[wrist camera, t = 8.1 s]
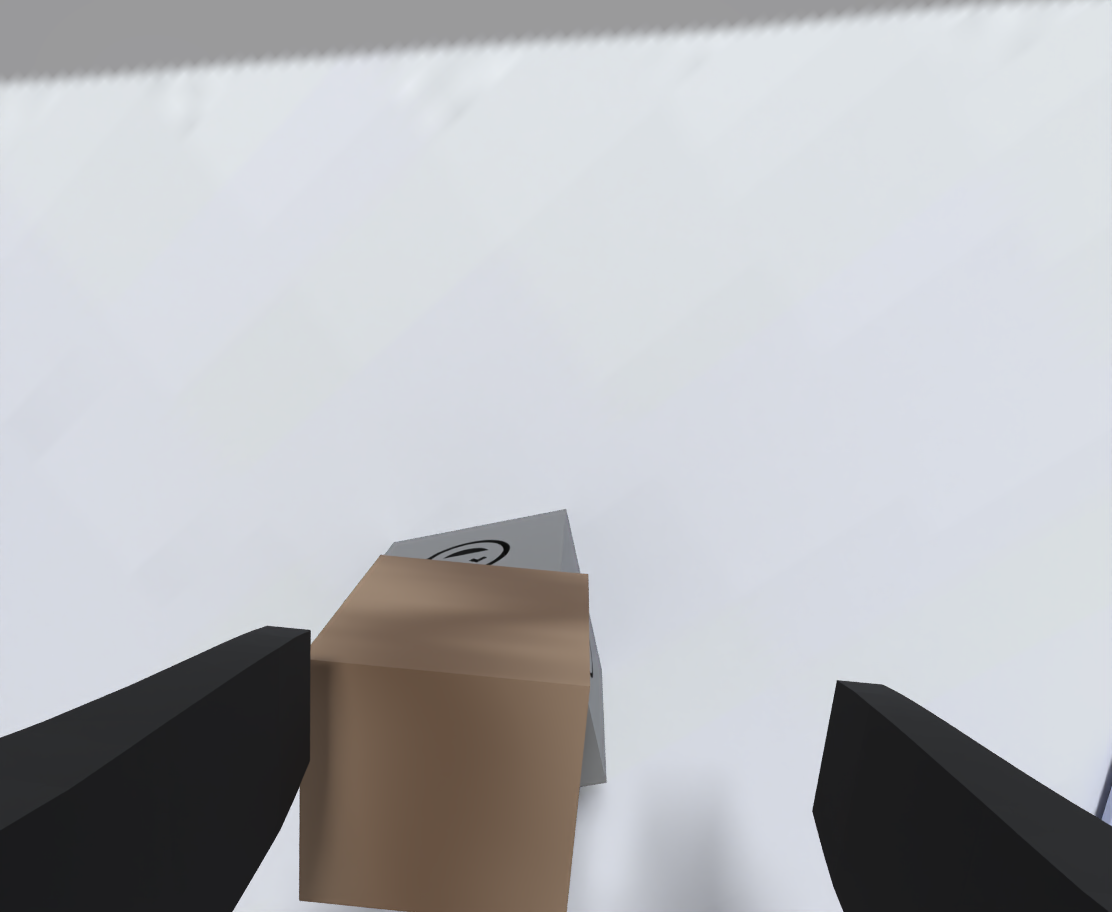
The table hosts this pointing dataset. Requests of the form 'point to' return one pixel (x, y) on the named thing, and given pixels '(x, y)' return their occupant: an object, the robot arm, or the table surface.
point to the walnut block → (447, 740)
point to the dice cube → (533, 548)
